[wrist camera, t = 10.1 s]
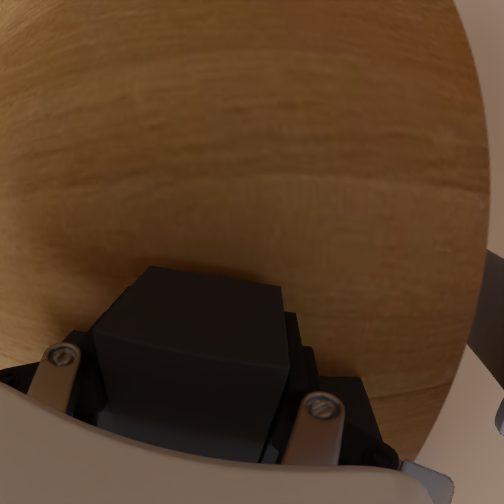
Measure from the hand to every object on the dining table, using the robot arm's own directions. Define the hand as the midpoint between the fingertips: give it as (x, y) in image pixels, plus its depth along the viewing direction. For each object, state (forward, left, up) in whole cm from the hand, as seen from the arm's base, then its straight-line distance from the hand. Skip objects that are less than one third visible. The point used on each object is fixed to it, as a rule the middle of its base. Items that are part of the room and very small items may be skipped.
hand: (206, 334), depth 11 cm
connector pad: (0, +3, 0) cm, 3 cm away
